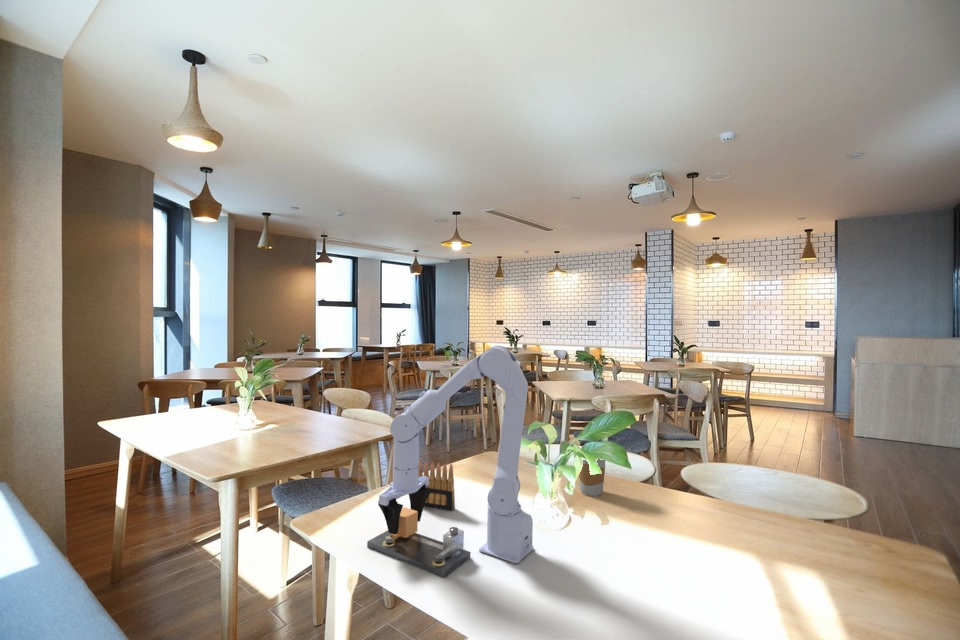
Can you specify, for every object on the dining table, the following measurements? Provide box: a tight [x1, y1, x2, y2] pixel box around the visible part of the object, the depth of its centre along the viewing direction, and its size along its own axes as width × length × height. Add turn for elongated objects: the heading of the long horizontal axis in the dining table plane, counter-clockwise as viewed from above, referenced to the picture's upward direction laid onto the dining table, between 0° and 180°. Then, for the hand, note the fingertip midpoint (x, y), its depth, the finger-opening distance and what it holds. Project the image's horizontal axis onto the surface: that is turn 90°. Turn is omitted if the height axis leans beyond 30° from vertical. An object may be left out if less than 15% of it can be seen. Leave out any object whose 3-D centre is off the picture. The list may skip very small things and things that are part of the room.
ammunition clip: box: [418, 459, 456, 512], centre depth 121 cm, size 11×2×12 cm, turn 73°
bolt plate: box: [366, 526, 471, 579], centre depth 98 cm, size 21×9×6 cm, turn 58°
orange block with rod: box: [386, 506, 419, 543], centre depth 101 cm, size 4×8×4 cm, turn 148°
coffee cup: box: [578, 441, 606, 497], centre depth 133 cm, size 8×8×15 cm
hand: (404, 526), depth 103 cm, fingers open, 7 cm apart
